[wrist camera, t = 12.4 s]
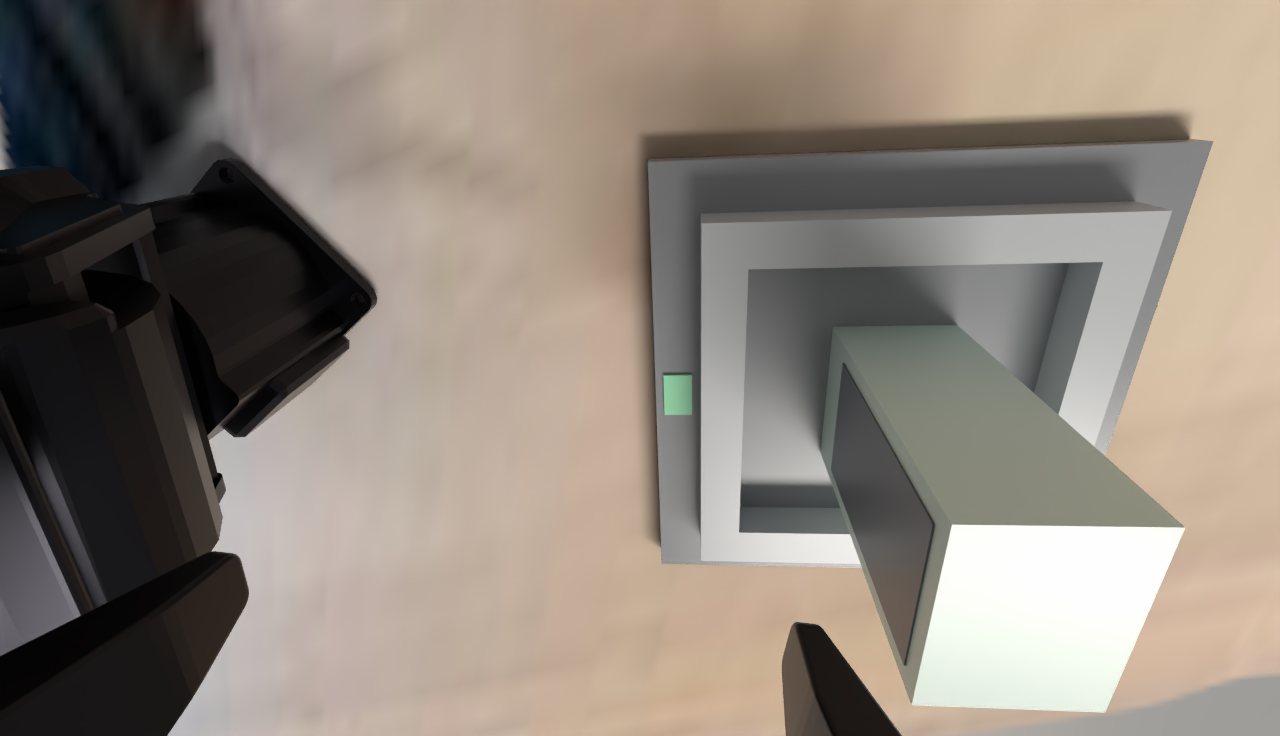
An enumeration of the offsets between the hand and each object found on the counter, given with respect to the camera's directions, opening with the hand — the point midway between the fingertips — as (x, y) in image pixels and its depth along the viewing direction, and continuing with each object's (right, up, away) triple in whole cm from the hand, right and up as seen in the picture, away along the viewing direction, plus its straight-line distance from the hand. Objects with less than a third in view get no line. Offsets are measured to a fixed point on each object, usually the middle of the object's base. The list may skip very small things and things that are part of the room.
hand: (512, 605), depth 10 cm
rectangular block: (+11, +3, +11) cm, 16 cm away
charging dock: (+11, +3, +12) cm, 16 cm away
